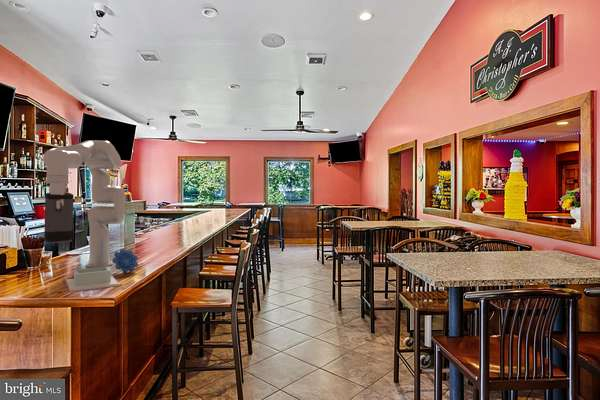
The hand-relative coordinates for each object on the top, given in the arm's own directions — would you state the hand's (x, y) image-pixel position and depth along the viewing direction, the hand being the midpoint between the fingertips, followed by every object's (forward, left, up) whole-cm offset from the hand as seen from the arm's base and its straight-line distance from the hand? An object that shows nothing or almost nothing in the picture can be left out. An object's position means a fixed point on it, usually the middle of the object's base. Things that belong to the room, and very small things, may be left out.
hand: (57, 223), depth 155 cm
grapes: (-14, +29, -27) cm, 42 cm away
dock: (0, +13, -27) cm, 30 cm away
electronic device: (0, 0, -8) cm, 8 cm away
